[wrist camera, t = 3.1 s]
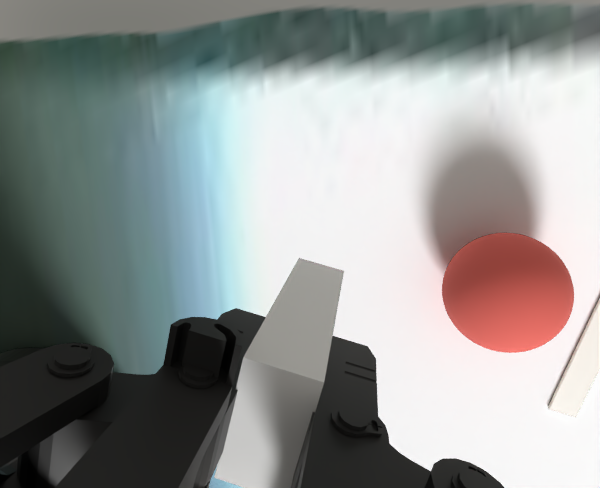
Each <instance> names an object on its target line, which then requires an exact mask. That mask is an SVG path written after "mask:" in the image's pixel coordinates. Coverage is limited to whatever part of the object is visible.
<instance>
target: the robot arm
mask: <svg viewBox="0 0 600 488" xmlns="http://www.w3.org/2000/svg"><path fill="white" fill-rule="evenodd" d="M343 273H344V271H342V270H339V269H335V268H332V267H328V266H325V265H321V264H318V263H314V262H311V261H307V260H304V259H300V258H299V259H298V261H297V263H296V265H295V266H294V268H293V270H292V272H291V274H290V275H289V277H288V279H287V281H286V282H285V284H284V286H283V288H282V290H281V291H280V293H279V295H278V297H277V298H276V300H275V302H274V304H273V305H272V307H271V309H270V311H269V313H268V314H267V316H266V317H263V316H260V315H256V314H253V313H250V312H246V311H243V310H240V309H233V310H231V311H228V312H226V313H223V314H222V315H221V316H220V317H219V318H218V319H217V320H216V319H211V318H206V317H190V318H185V319H180V320H178V321H176V322H175V323H173V324H171V327H170V333H169V338H168V343H167V349H166V354H165V360H164V365H163V366H162V367H161V368H160V369H159V371H158V372H157V373H156V374H151V375H136V374H126V373H115V372H113V367H114V362H113V360H112V357H111V355H110V354H108V353H107V352H106V351H105V350H103V349H101V348H98V347H96V346H93V345H90V344H81V343H67V344H58V345H54V346H51V347H47V348H44V349H41V348H21V349H14V350H10V351H6V352H3V353H0V488H209V483H210V479H211V477H212V475H213V473H214V470H215V468H216V466H217V469H216V473H215V477H214V478H217V479H220V480H223V481H226V482H229V483H232V484H235V485H238V486H241V487H244V488H504V487H503V486H502V484H501V483H500V482H498V481H497V480H496V479H495V478H494V477H492V476H491V475H490V474H489V473H487V472H486V471H484V470H483V469H481V468H479V467H477V466H476V465H473V464H471V463H469V462H466V461H462V460H459V459H442V460H440V461H438V462H436V463H435V464H434V465H433V468H432V470H431V472H430V471H429V470H427V469H425V468H423V467H422V466H420V465H418V464H416V463H415V462H413V461H411V460H409V459H408V458H406V457H405V456H403V455H402V454H400V453H399V452H398V451H397V450H396V449H394V448H393V447H392V446H391V445H390V444H389V437H388V433H387V430H386V427H385V425H384V423H383V422H382V421H381V420H380V418H379V417H378V406H377V383H376V381H377V379H376V358H375V357H374V355H373V354H372V352H371V351H370V349H369V348H368V346H365V345H361V344H358V343H355V342H351V341H348V340H345V339H341V338H338V337H335V336H332V335H333V330H334V324H335V318H336V313H337V307H338V301H339V296H340V290H341V284H342V279H343ZM217 464H218V465H217Z"/></svg>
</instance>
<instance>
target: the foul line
mask: <svg viewBox="0 0 600 488" xmlns="http://www.w3.org/2000/svg"><path fill="white" fill-rule="evenodd" d="M599 370H600V298H599V300H598V303H597V305H596V307H595V309H594V311H593V313H592V315H591V317H590V319H589V322H588V324H587V326H586V328H585V330H584V332H583V334H582V336H581V338H580V341H579V343H578V345H577V347H576V349H575V351H574V353H573V355H572V358H571V360H570V362H569V364H568V366H567V368H566V370H565V372H564V374H563V377H562V379H561V381H560V383H559V385H558V387H557V389H556V391H555V393H554V396H553V398H552V400H551V402H550V404H549V406H548V408H549V410H553V411H556V412H559V413H563V414H566V415H569V416H573V417H576V416H577V414H578V412H579V410H580V408H581V406H582V404H583V402H584V400H585V398H586V396H587V394H588V392H589V390H590V388H591V386H592V384H593V382H594V380H595V378H596V376H597V374H598V372H599Z"/></svg>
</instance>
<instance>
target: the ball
mask: <svg viewBox="0 0 600 488" xmlns="http://www.w3.org/2000/svg"><path fill="white" fill-rule="evenodd" d="M442 296H443V302H444V305H445V309H446V311H447V314H448V316H449V318H450V319H451V321H452V322H453V324H454V325H455V327H456V328H457V329H458V330H459V331H460V332H461V333H462V334H463V335H464V336H466V337H467V338H468V339H469V340H471V341H472V342H474V343H476V344H478V345H480V346H482V347H485V348H487V349H490V350H494V351H499V352H509V353H510V352H524V351H528V350H532V349H535V348H537V347H540V346H542V345H544V344H545V343H547V342H549V341H550V340H551V339H553V338H554V337H555V336H556V335H557V334H558V333H559V332H560V331H561V330H562V329H563V327H564V326H565V325H566V323H567V321H568V319H569V317H570V314H571V312H572V307H573V302H574V289H573V284H572V280H571V276H570V274H569V272H568V270H567V268H566V266H565V265H564V263H563V261H562V260H561V259H560V258H559V256H558V255H557V254H556V253H555V252H553V251H552V250H551V249H550V248H549V247H547V246H546V245H544V244H543V243H541V242H539V241H537V240H535V239H533V238H530V237H527V236H525V235H520V234H515V233H495V234H489V235H486V236H482V237H480V238H477V239H475V240H473V241H472V242H470V243H468V244H467V245H465V246H464V247H463V248H461V249H460V250H459V251H458V252H457V253H456V254H455V256H454V257H453V258H452V260H451V261H450V263H449V264H448V266H447V269H446V271H445V274H444V278H443V284H442Z"/></svg>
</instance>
